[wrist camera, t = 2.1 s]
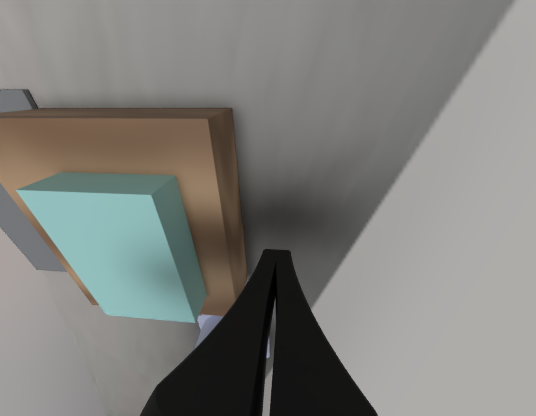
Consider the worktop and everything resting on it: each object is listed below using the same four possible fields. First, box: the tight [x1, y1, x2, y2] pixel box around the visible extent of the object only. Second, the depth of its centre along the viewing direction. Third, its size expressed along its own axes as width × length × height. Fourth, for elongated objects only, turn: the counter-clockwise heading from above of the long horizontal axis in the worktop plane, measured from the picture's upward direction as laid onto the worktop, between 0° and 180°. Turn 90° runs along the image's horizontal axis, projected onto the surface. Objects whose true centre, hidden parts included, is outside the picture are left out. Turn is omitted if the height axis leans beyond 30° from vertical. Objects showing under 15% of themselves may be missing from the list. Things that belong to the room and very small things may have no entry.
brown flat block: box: [0, 108, 247, 316], centre depth 14 cm, size 14×12×4 cm
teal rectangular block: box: [16, 172, 207, 323], centre depth 12 cm, size 9×6×2 cm, turn 1°
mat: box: [0, 90, 67, 272], centre depth 17 cm, size 16×10×1 cm, turn 1°
